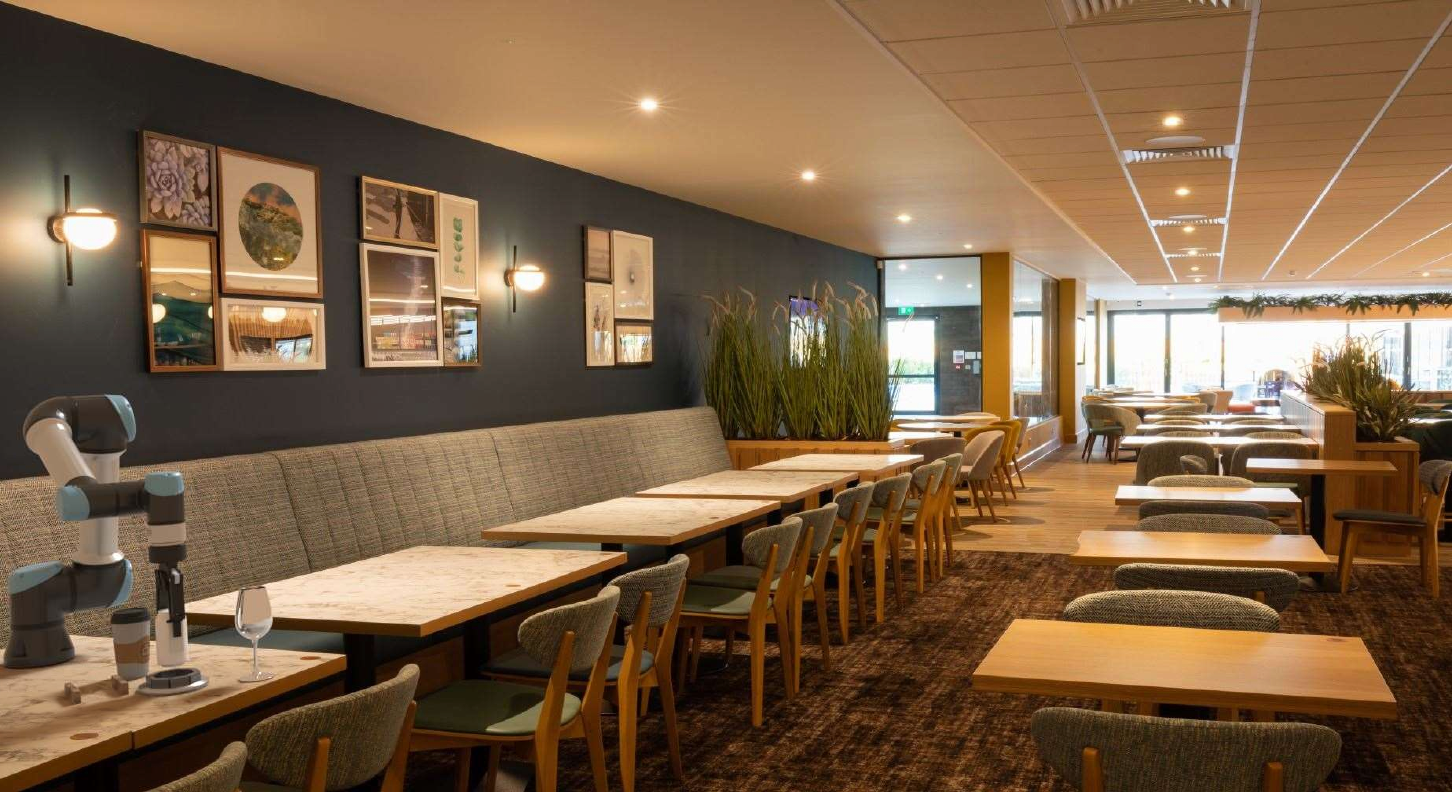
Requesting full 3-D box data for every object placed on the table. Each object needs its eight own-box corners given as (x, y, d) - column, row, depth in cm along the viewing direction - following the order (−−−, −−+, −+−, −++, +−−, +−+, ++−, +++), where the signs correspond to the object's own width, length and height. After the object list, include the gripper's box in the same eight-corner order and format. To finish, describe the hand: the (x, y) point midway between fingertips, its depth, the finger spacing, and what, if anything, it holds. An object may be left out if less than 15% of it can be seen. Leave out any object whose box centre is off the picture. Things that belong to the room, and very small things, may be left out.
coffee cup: (137, 681, 273) (134, 614, 273) (104, 680, 275) (101, 614, 275) (161, 672, 282) (158, 606, 281) (129, 671, 283) (126, 606, 283)
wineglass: (266, 671, 278) (262, 583, 278) (281, 676, 273) (277, 587, 272) (231, 678, 273) (227, 588, 273) (246, 684, 267) (242, 592, 267)
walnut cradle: (64, 695, 263) (64, 683, 263) (117, 685, 270) (117, 674, 270) (74, 704, 256) (74, 692, 256) (128, 694, 262) (128, 682, 262)
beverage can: (156, 669, 263) (154, 613, 262) (157, 663, 268) (154, 609, 268) (188, 666, 265) (185, 610, 265) (188, 660, 271) (186, 606, 270)
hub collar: (131, 687, 268) (130, 673, 268) (198, 675, 277) (197, 662, 277) (147, 699, 257) (146, 685, 257) (217, 686, 266) (216, 673, 266)
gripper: (137, 541, 271) (142, 645, 272) (160, 549, 256) (165, 659, 257) (173, 537, 276) (178, 640, 276) (198, 544, 261) (203, 653, 261)
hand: (172, 649), depth 267 cm, fingers closed on beverage can, 6 cm apart
